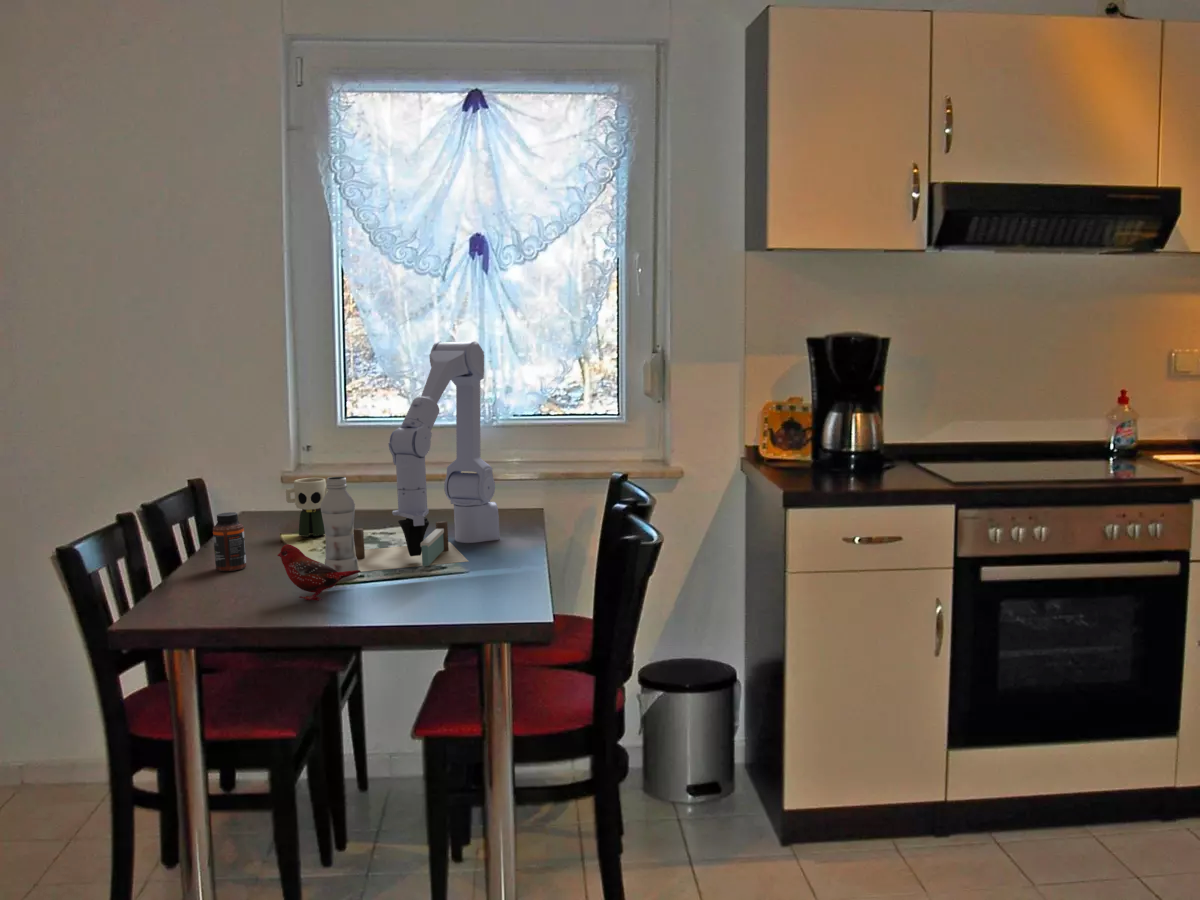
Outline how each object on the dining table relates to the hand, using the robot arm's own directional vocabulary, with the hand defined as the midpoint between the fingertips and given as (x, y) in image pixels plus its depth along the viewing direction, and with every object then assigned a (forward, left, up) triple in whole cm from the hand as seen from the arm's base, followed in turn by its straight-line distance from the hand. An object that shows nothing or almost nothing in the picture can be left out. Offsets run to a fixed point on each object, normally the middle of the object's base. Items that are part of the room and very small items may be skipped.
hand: (415, 555), depth 228 cm
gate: (-4, 0, -1) cm, 4 cm away
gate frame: (+1, -6, -2) cm, 7 cm away
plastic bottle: (+15, +7, -3) cm, 17 cm away
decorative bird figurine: (+20, +20, -3) cm, 28 cm away
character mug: (+17, -41, -3) cm, 45 cm away
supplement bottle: (+35, -14, -3) cm, 38 cm away
